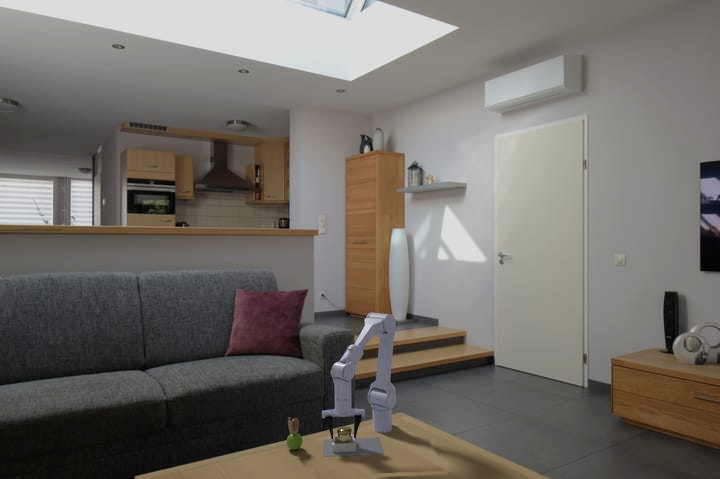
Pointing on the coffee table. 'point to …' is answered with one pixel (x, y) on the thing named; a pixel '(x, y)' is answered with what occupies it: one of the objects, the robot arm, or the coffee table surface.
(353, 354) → the robot arm
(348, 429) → the brass door knob
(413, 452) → the coffee table surface
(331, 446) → the fitting board
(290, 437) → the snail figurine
